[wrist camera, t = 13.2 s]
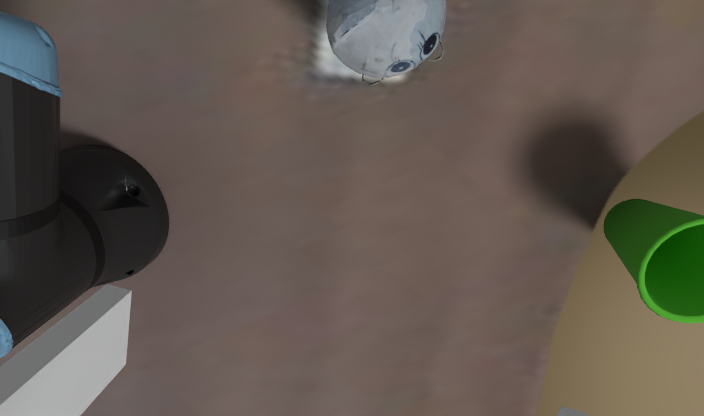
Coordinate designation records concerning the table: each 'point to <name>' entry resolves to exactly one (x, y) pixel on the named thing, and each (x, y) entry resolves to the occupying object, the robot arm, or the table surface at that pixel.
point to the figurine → (385, 34)
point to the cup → (661, 256)
